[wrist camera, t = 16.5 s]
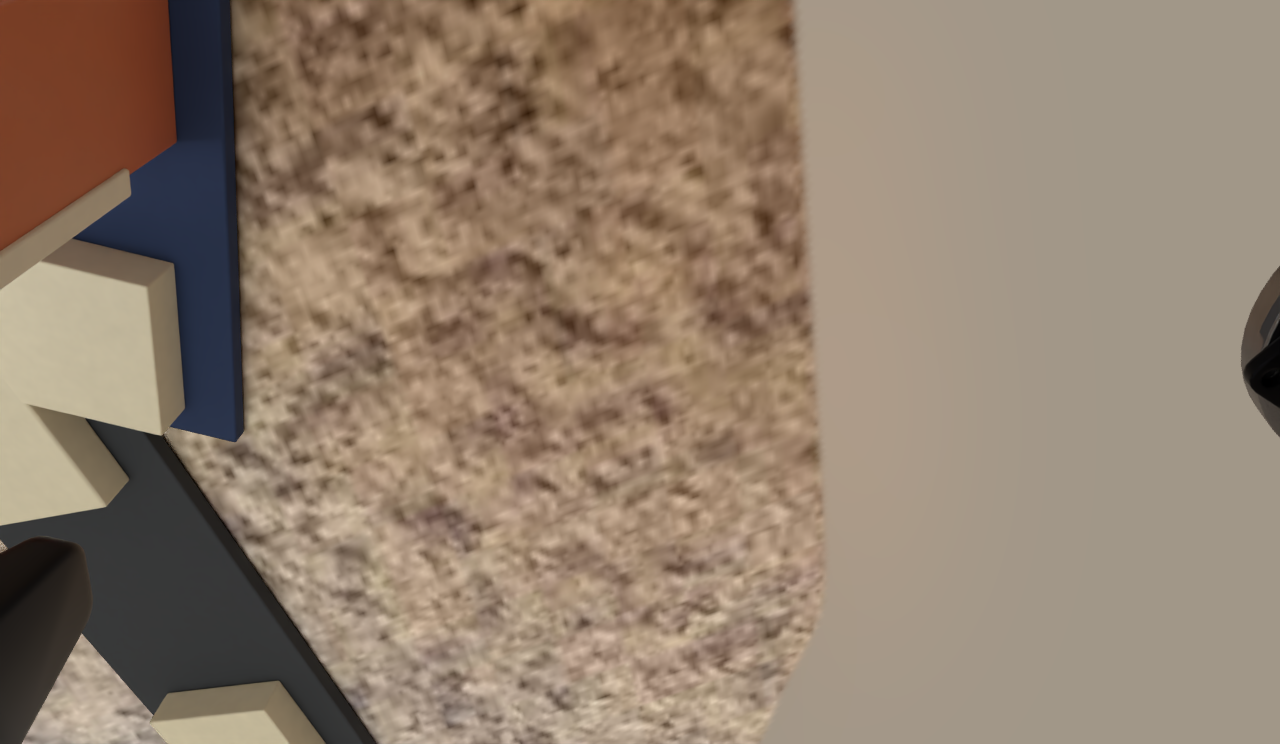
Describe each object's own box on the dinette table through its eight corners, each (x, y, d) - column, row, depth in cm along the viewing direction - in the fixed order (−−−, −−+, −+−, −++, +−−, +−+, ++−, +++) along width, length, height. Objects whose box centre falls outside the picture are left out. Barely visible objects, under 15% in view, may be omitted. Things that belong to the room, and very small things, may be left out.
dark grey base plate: (-180, 305, 25) (-238, 339, 23) (33, 249, 23) (-15, 282, 21) (240, 797, 36) (219, 840, 34) (404, 784, 34) (389, 829, 33)
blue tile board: (-255, -711, 14) (-369, -761, 13) (212, -584, 14) (152, -617, 13) (-13, 370, 25) (-59, 408, 24) (244, 432, 25) (214, 472, 24)
